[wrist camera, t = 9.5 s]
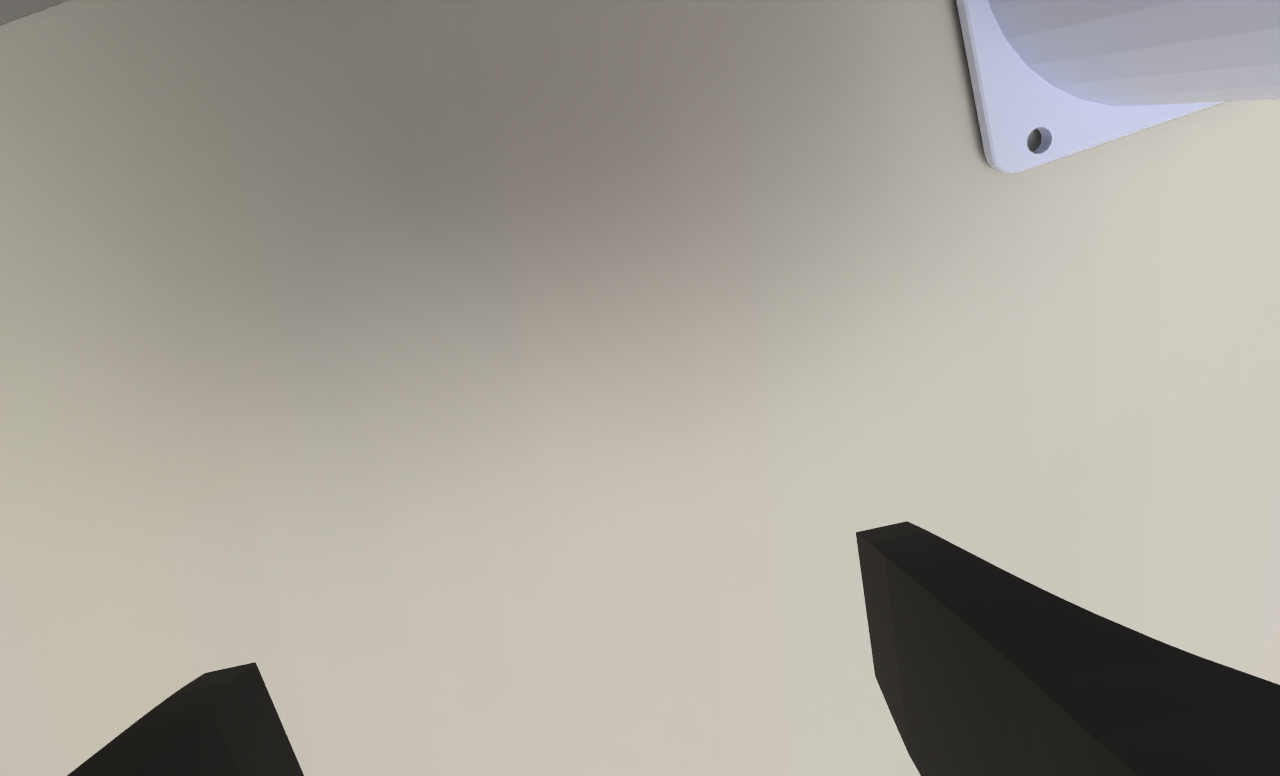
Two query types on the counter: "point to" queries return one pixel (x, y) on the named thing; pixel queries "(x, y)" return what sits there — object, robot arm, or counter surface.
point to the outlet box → (22, 8)
